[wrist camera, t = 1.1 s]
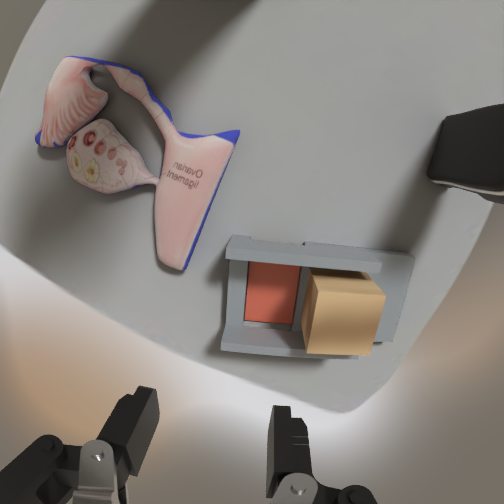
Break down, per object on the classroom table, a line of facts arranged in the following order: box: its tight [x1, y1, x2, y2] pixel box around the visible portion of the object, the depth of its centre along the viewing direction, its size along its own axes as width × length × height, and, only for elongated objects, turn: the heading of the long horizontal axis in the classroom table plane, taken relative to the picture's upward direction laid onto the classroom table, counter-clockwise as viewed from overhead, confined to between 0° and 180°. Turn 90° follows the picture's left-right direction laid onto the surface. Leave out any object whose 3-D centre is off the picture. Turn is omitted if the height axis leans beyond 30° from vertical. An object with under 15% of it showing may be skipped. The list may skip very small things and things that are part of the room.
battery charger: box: [427, 104, 504, 204], centre depth 17 cm, size 7×4×11 cm, turn 158°
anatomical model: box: [35, 56, 240, 270], centre depth 23 cm, size 20×3×15 cm
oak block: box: [301, 267, 386, 355], centre depth 23 cm, size 5×5×5 cm
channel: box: [221, 235, 415, 359], centre depth 24 cm, size 9×16×4 cm, turn 85°
